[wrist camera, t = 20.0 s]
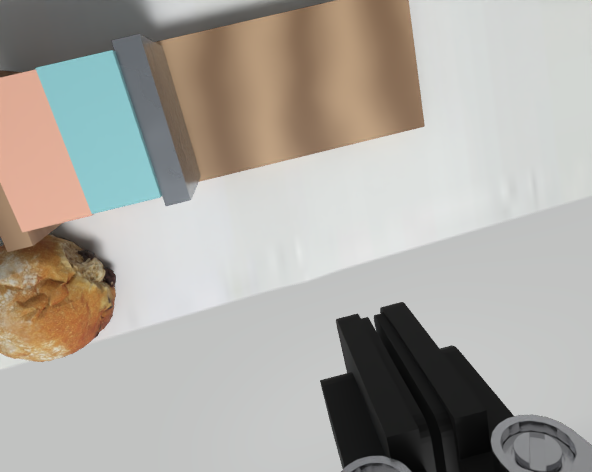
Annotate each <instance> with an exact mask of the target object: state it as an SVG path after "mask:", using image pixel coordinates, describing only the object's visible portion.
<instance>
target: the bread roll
mask: <svg viewBox="0 0 592 472" xmlns="http://www.w3.org/2000/svg"><path fill="white" fill-rule="evenodd" d="M115 282H116V275H115V274H114V273H113V271H112V270H111V269H108V268H104V265H103V264H102V262H101V261H100V260H98V259H97V258H96V257H95V255H94V253H92V252H89V251H86V250H83V249H82V248H81V247H79V246H78V245H76V244H75V243H74V242H71V241H68V240H65V239H61V238H58V237H55V236H54V235H47V236H45V237H44V238H43V239H41V240H40V241H39V242H38V243H36V244H35V245H34V246H30V247H26V248H22V249H18V250H14V251H10V252H7V250H6V248H5V245H3V246H0V353H1V354H3V355H5V356H8V357H11V358H14V359H16V358H19V359H25V360H29V361H37V362H44V361H51V360H54V359H57V358H62V357H65V356H67V355H69V354H73V353H74V352H76V351H78V350H79V349H81V348H83V347H84V346H86V345H87V344H88V343H89V342H91V341H92V340H93V339H94V338H95V337H97V336H98V334H99V332H100V331H101V330H102V329H104V328H105V326H106V325H107V324H108V323H109V322H110V319H111V317H112V316H113V314H112V313H113V309H114V300H115V297H116V293H115V288H114V287H115V286H114V285H115Z"/></svg>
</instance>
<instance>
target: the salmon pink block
mask: <svg viewBox="0 0 592 472" xmlns="http://www.w3.org/2000/svg"><path fill="white" fill-rule="evenodd" d="M0 183H1V186H2V188H3V190H4V192H5V195H6V197H7V199H8V201H9V204H10V206H11V208H12V210H13V213H14V215H15V217H16V219H17V222H18V224H19V226H20V228H21V231H22V232H27V231H31V230H35V229H39V228H43V227H47V226H51V225H55V224H59V223H63V222H67V221H71V220H76V219H80V218H84V217H88V216H92V215H93V214H92V213H91V211H90V208H89V206H88V203H87V201H86V198H85V195H84V193H83V190H82V188H81V185H80V182H79V180H78V177H77V175H76V172H75V169H74V167H73V164H72V162H71V159H70V157H69V154H68V151H67V149H66V146H65V144H64V141H63V138H62V136H61V133H60V131H59V128H58V125H57V123H56V120H55V118H54V115H53V113H52V110H51V107H50V105H49V102H48V100H47V97H46V94H45V92H44V89H43V87H42V84H41V81H40V79H39V76H38V74H37V71H36V70H31V71H27V72H23V73H18V74H14V75H10V76H5V77H1V78H0Z"/></svg>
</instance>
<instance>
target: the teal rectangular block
mask: <svg viewBox="0 0 592 472" xmlns="http://www.w3.org/2000/svg"><path fill="white" fill-rule="evenodd" d="M35 69H36V71H37V74H38V76H39V79H40V81H41V84H42V87H43V89H44V92H45V94H46V97H47V100H48V102H49V105H50V107H51V110H52V113H53V115H54V118H55V120H56V123H57V125H58V128H59V131H60V133H61V136H62V138H63V141H64V144H65V146H66V149H67V151H68V154H69V157H70V159H71V162H72V164H73V167H74V169H75V172H76V175H77V177H78V180H79V182H80V185H81V188H82V190H83V193H84V195H85V198H86V201H87V203H88V206H89V208H90V211H91V213H92V214H94V213H98V212H103V211H107V210H111V209H115V208H119V207H123V206H127V205H131V204H135V203H139V202H143V201H147V200H152V199H156V198H160V197H161V196H162V193H161V190H160V187H159V184H158V181H157V178H156V175H155V172H154V169H153V166H152V163H151V160H150V157H149V154H148V151H147V147H146V144H145V141H144V138H143V135H142V132H141V129H140V126H139V123H138V120H137V117H136V114H135V111H134V108H133V105H132V102H131V99H130V96H129V93H128V90H127V87H126V84H125V81H124V77H123V74H122V71H121V68H120V65H119V62H118V59H117V56H116V53H115V51H113V50H111V51H106V52H102V53H98V54H93V55H89V56H85V57H80V58H76V59H72V60H67V61H63V62H59V63H54V64H50V65H46V66H41V67H37V68H35Z"/></svg>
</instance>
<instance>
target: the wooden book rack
mask: <svg viewBox="0 0 592 472" xmlns="http://www.w3.org/2000/svg"><path fill="white" fill-rule="evenodd" d="M156 43H157V44H159V45H161V46H163V49H164V53H165V56H166V60H167V63H168V66H169V70H170V73H171V76H172V80H173V83H174V87H175V90H176V93H177V97H178V100H179V103H180V107H181V110H182V114H183V117H184V120H185V124H186V127H187V131H188V134H189V137H190V141H191V144H192V147H193V151H194V154H195V158H196V161H197V164H198V168H199V171H200V174H201V177H200V180H199V181H203V180H207V179H212V178H216V177H220V176H224V175H228V174H232V173H236V172H240V171H244V170H248V169H252V168H257V167H261V166H265V165H269V164H273V163H277V162H281V161H285V160H289V159H293V158H297V157H302V156H306V155H310V154H314V153H318V152H322V151H326V150H330V149H334V148H338V147H343V146H347V145H351V144H355V143H359V142H363V141H367V140H371V139H375V138H379V137H383V136H388V135H392V134H396V133H400V132H404V131H408V130H412V129H416V128H420V127H424V118H423V110H422V102H421V95H420V87H419V79H418V71H417V63H416V55H415V48H414V40H413V32H412V24H411V16H410V8H409V1H408V0H335V1H331V2H327V3H322V4H318V5H314V6H309V7H305V8H301V9H296V10H292V11H288V12H283V13H279V14H274V15H270V16H266V17H261V18H257V19H253V20H248V21H244V22H240V23H235V24H231V25H227V26H222V27H218V28H214V29H209V30H205V31H201V32H196V33H192V34H188V35H183V36H179V37H175V38H170V39H166V40H162V41H157V42H156ZM18 73H23V72H12V71H0V78H1V77H5V76H10V75H14V74H18ZM63 223H64V222H63ZM61 224H62V223H59V224H55V225H51V226H47V227H43V228H39V229H35V230H31V231H27V232H22V231H21V228H20V226H19V224H18V222H17V219H16V217H15V215H14V213H13V210H12V208H11V206H10V204H9V201H8V199H7V197H6V195H5V192H4V190H3V188H2V186H1V183H0V237H1V239H2V241H3V243H4V245H5V248H6V250H7V252H10V251H14V250H18V249H22V248H26V247H30V246H34V245H35V244H36V243H38V242H39V241H40V240H41V239H43V238H44V237H45V236H47V235H48V234H49V233H51V232H52V231H53V230H54V229H56V228H57V227H58V226H60V225H61Z"/></svg>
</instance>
